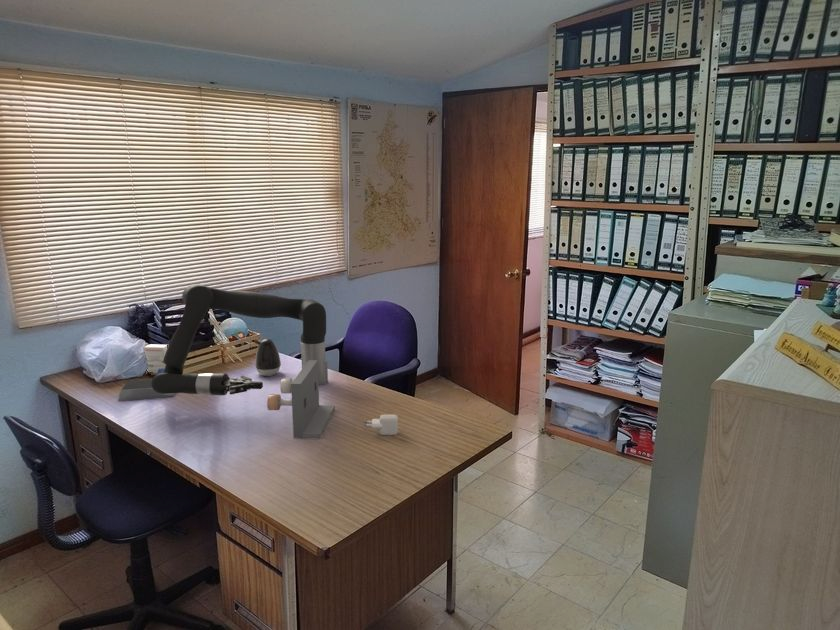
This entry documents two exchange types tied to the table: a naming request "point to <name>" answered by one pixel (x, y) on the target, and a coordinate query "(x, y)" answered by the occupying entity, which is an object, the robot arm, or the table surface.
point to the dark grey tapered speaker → (267, 358)
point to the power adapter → (385, 424)
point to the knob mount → (308, 404)
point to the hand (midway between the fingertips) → (262, 385)
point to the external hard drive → (140, 391)
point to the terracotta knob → (277, 402)
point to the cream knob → (286, 385)
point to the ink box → (155, 357)
